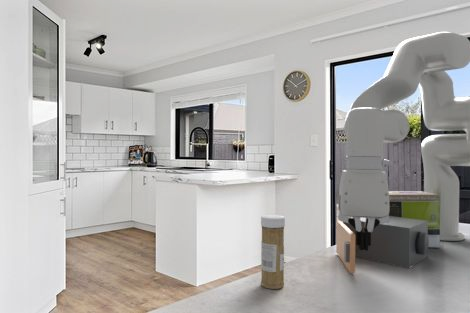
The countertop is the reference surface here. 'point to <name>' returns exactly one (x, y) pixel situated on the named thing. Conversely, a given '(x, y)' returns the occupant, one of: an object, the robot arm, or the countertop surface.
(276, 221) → the sprinkles bottle
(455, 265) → the countertop surface
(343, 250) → the door
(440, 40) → the robot arm
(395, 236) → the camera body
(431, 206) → the tea box
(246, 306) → the countertop surface
